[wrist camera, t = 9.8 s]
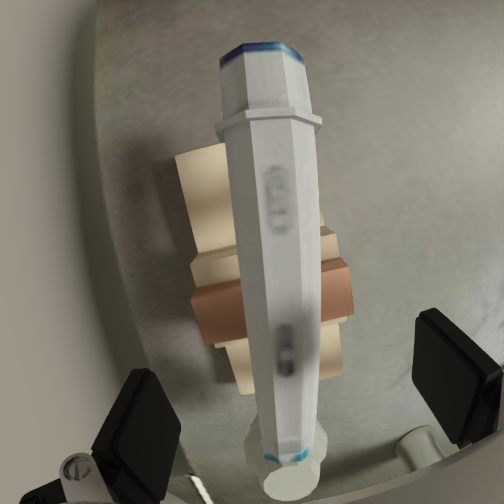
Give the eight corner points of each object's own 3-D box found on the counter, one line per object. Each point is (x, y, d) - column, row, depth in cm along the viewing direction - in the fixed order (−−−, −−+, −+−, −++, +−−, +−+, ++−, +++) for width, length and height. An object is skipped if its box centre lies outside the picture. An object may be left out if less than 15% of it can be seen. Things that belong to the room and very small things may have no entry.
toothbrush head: (325, 38, 10) (334, 515, 12) (302, 96, 16) (318, 453, 19) (196, 44, 10) (248, 524, 12) (216, 102, 16) (250, 459, 19)
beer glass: (381, 455, 30) (414, 542, 15) (415, 420, 28) (464, 508, 13) (412, 458, 30) (447, 532, 16) (445, 425, 29) (491, 499, 14)
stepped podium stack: (181, 157, 21) (151, 149, 15) (299, 131, 21) (319, 111, 14) (241, 381, 26) (239, 436, 19) (337, 361, 25) (359, 411, 19)
